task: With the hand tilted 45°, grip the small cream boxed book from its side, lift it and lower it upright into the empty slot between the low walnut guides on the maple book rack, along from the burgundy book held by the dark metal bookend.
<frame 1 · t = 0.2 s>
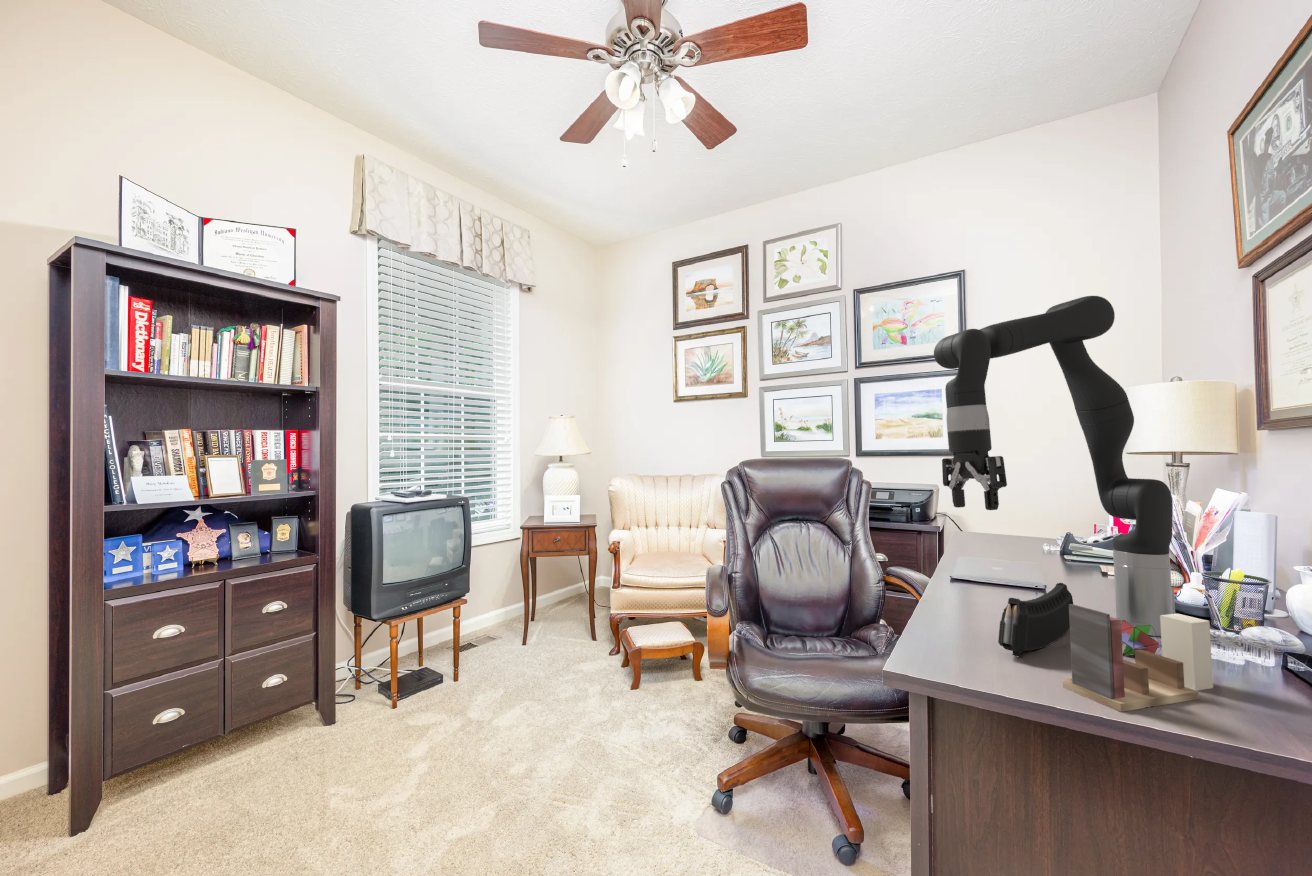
hand: (975, 508, 107), 28 cm above the table, tool pointing down, fingers open, 8 cm apart
magazine: (1040, 644, 109), on the table
book rack: (1128, 692, 86), on the table
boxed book: (1187, 683, 89), on the table
geometric puzzle: (1137, 658, 101), on the table
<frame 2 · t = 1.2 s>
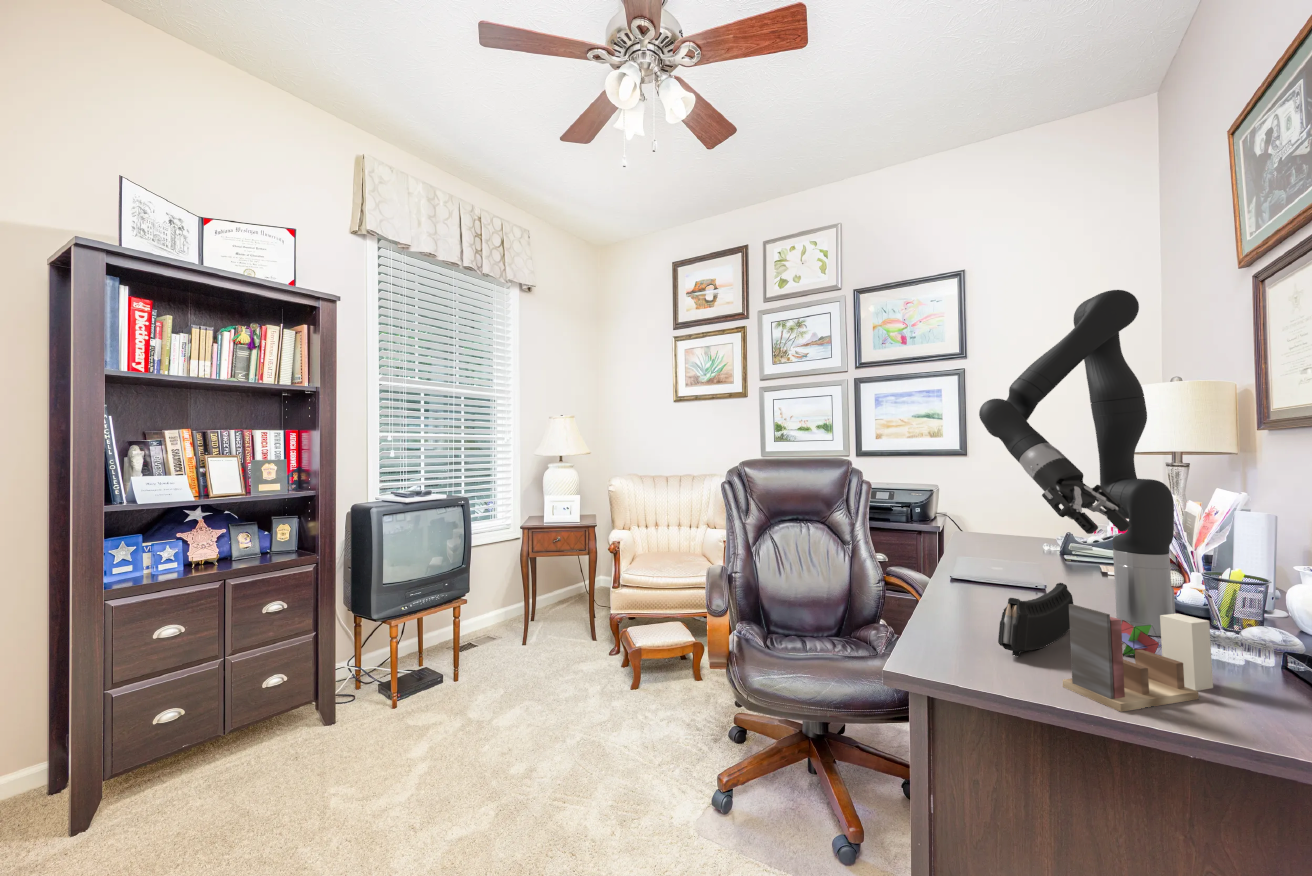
hand: (1110, 530, 101), 24 cm above the table, tool tilted 45°, fingers open, 8 cm apart
nothing on the table moved.
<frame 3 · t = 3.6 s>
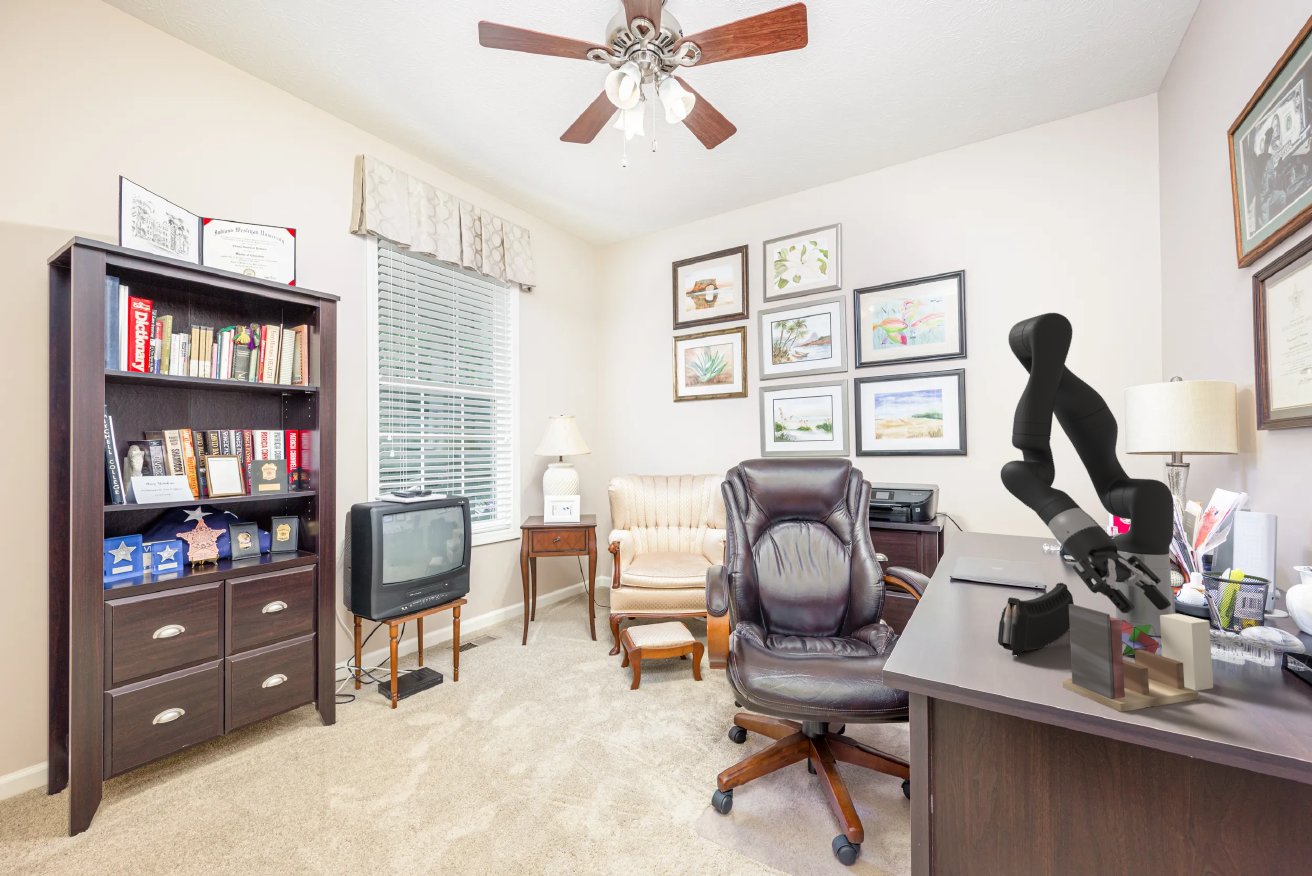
hand: (1148, 609, 95), 11 cm above the table, tool tilted 45°, fingers open, 8 cm apart
nothing on the table moved.
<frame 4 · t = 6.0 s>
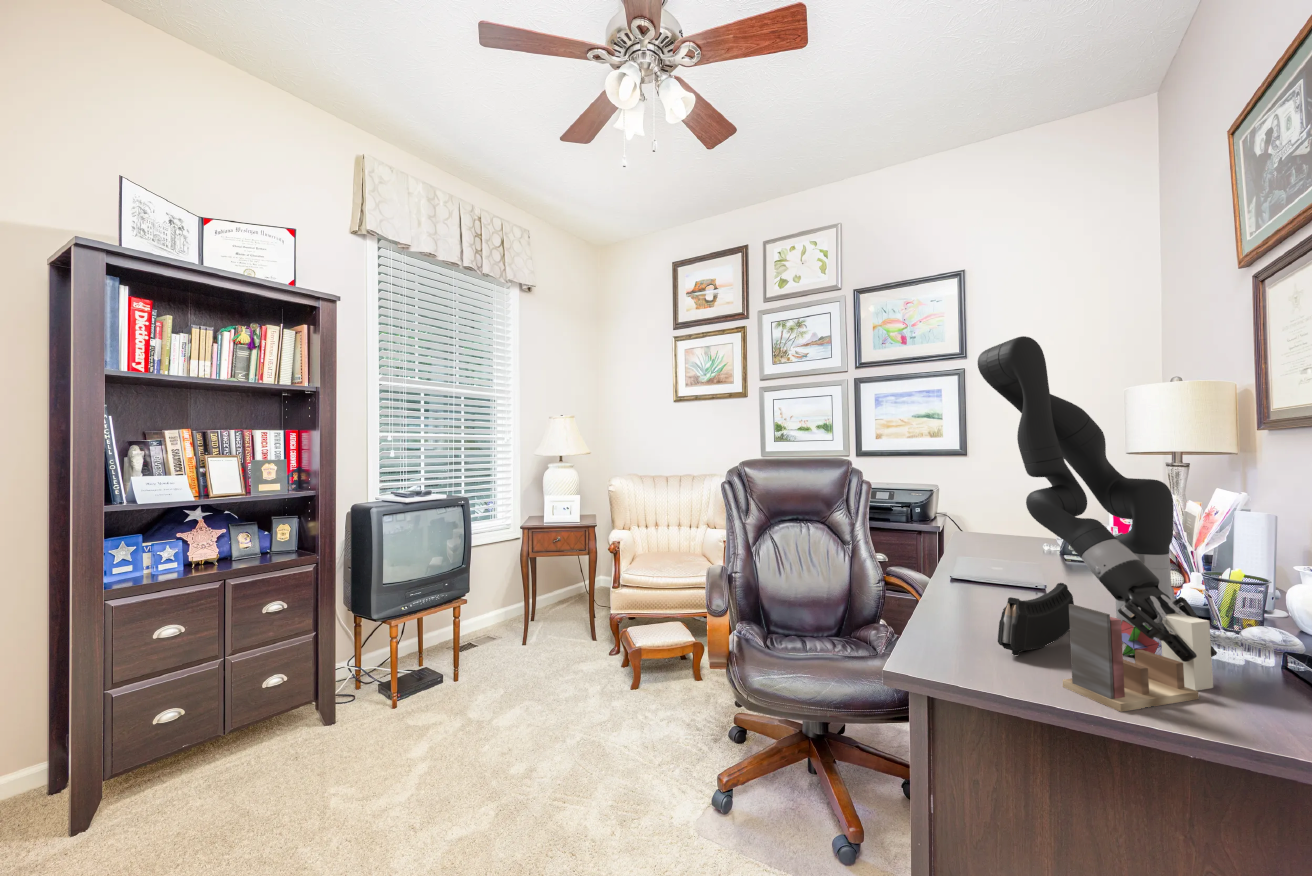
hand: (1200, 657, 87), 5 cm above the table, tool tilted 45°, fingers closed on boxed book, 4 cm apart
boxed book: (1187, 683, 89), on the table, touching gripper
everything else where it was.
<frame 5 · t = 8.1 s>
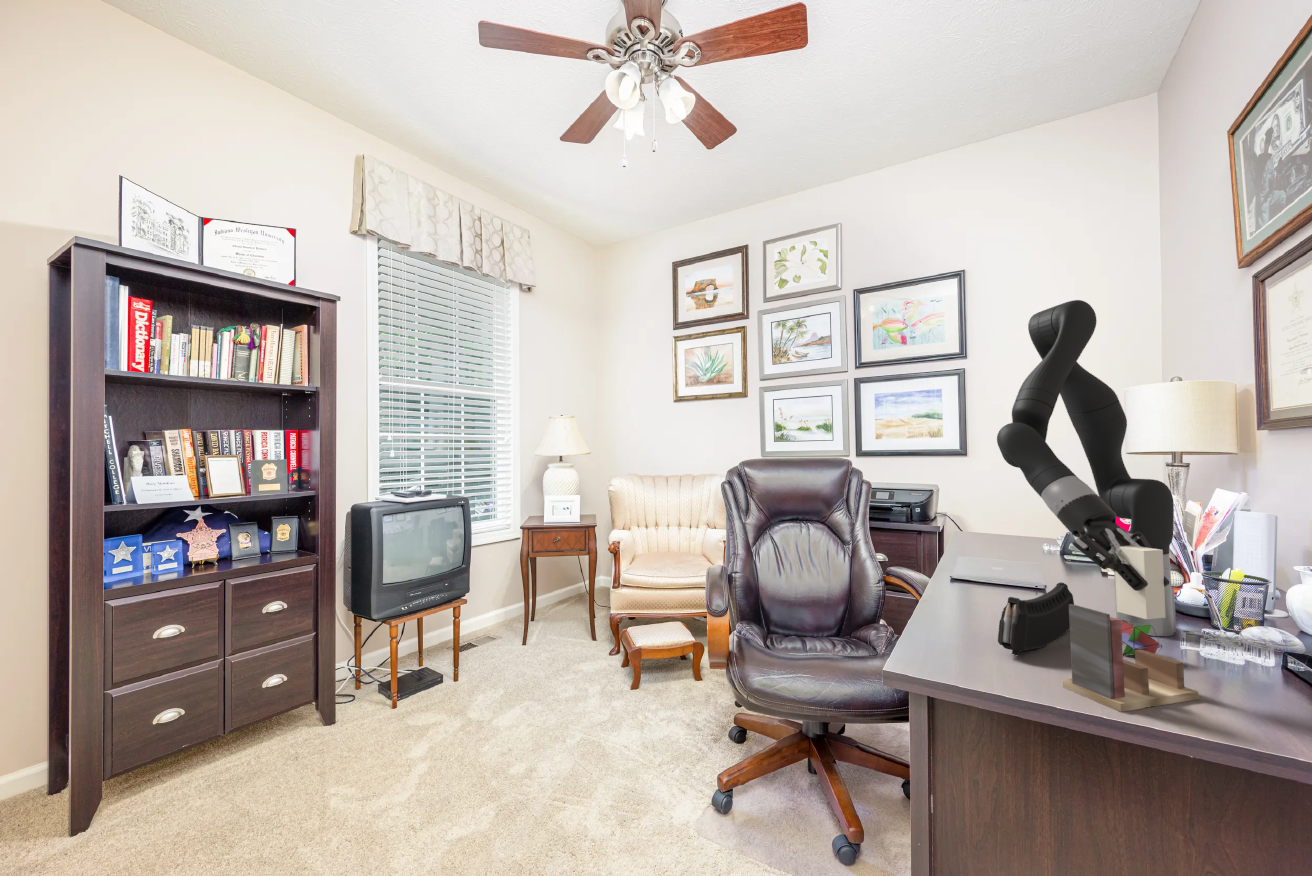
hand: (1152, 586, 86), 17 cm above the table, tool tilted 45°, fingers closed on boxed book, 4 cm apart
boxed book: (1140, 614, 88), point 12 cm above the table, touching gripper
everything else where it was.
when the fingers open (8 cm above the table, at t = 10.4 s): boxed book drops 1 cm, resting on book rack.
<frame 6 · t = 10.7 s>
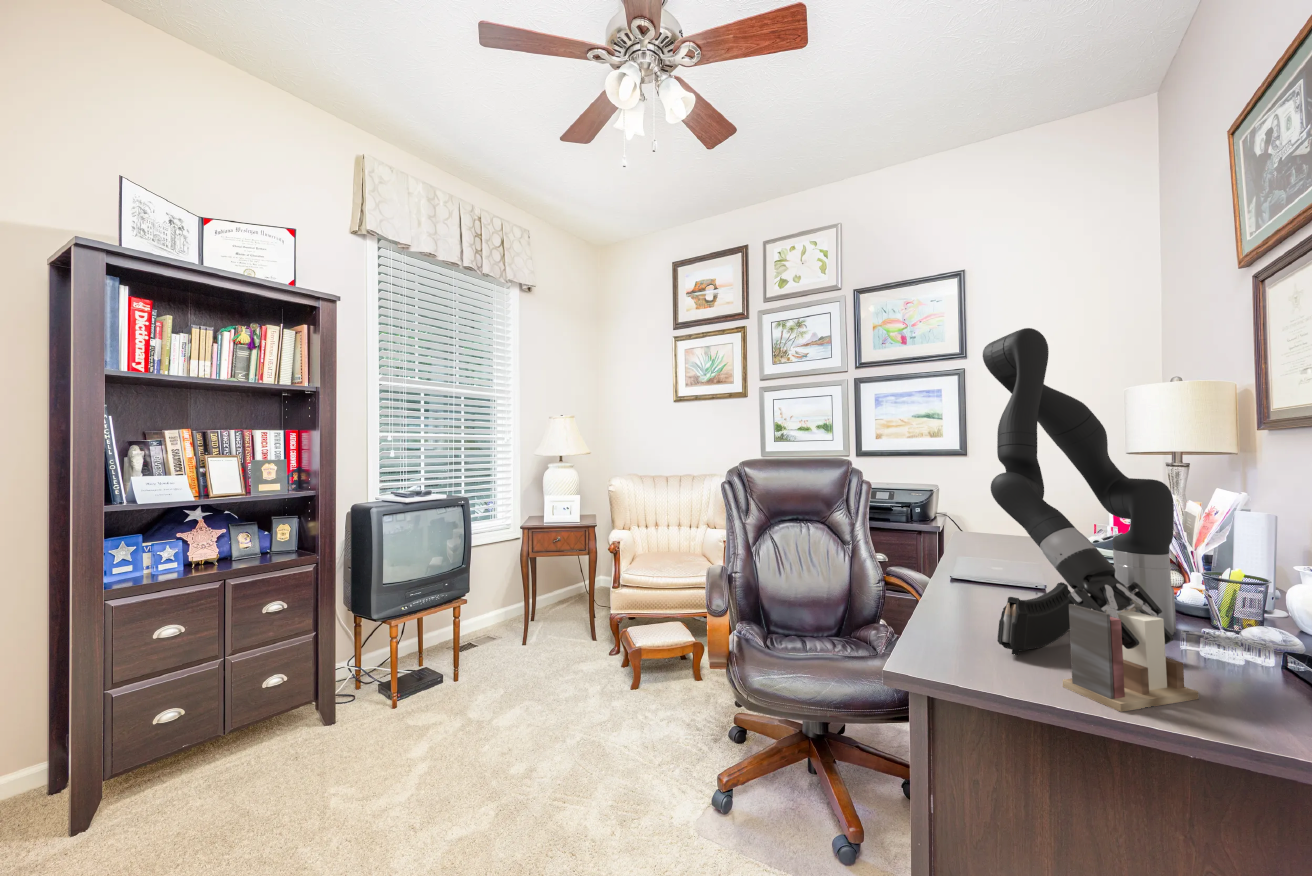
hand: (1151, 644, 86), 8 cm above the table, tool tilted 45°, fingers open, 6 cm apart
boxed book: (1142, 683, 87), point 1 cm above the table, touching book rack
everything else where it was.
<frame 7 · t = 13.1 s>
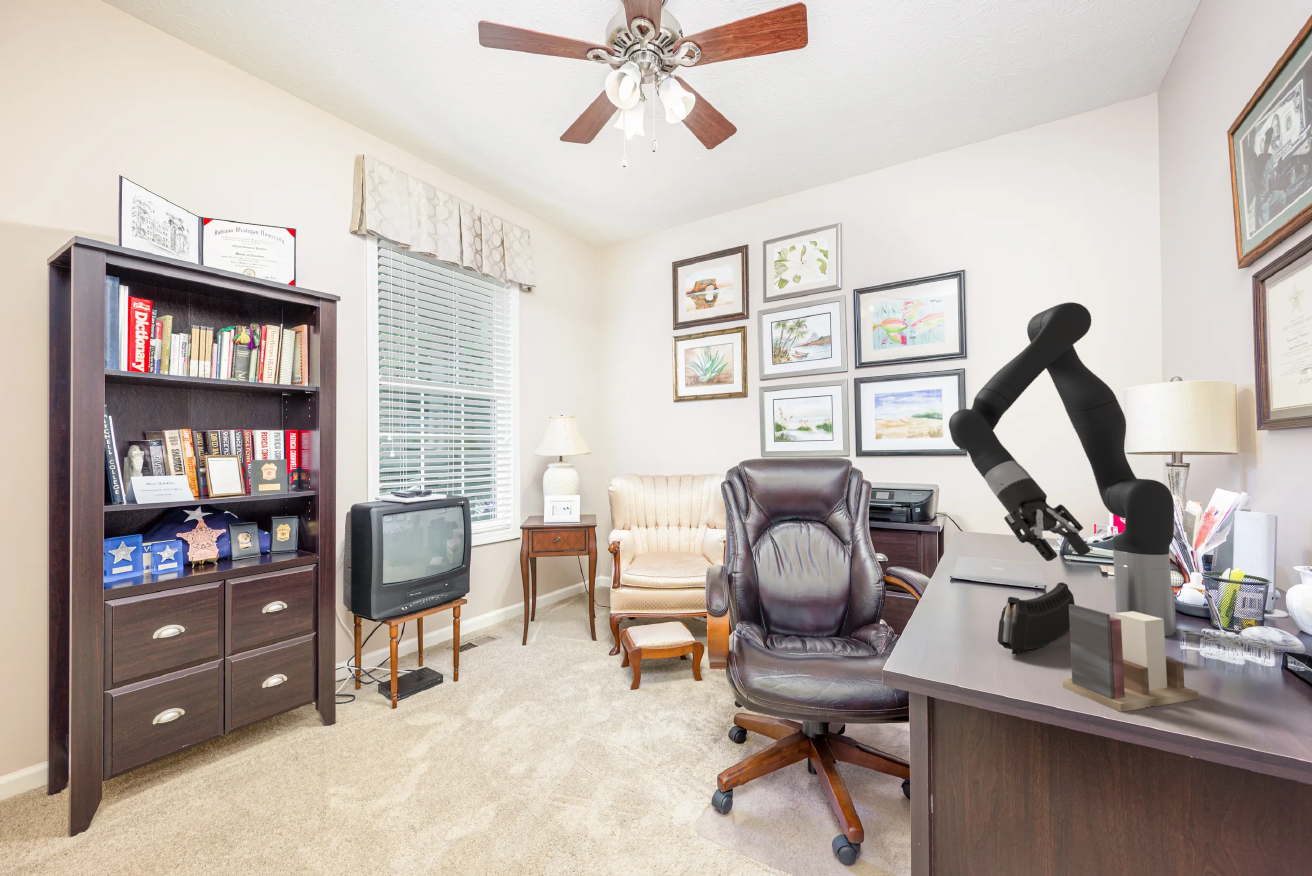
hand: (1069, 556, 100), 20 cm above the table, tool tilted 40°, fingers open, 8 cm apart
nothing on the table moved.
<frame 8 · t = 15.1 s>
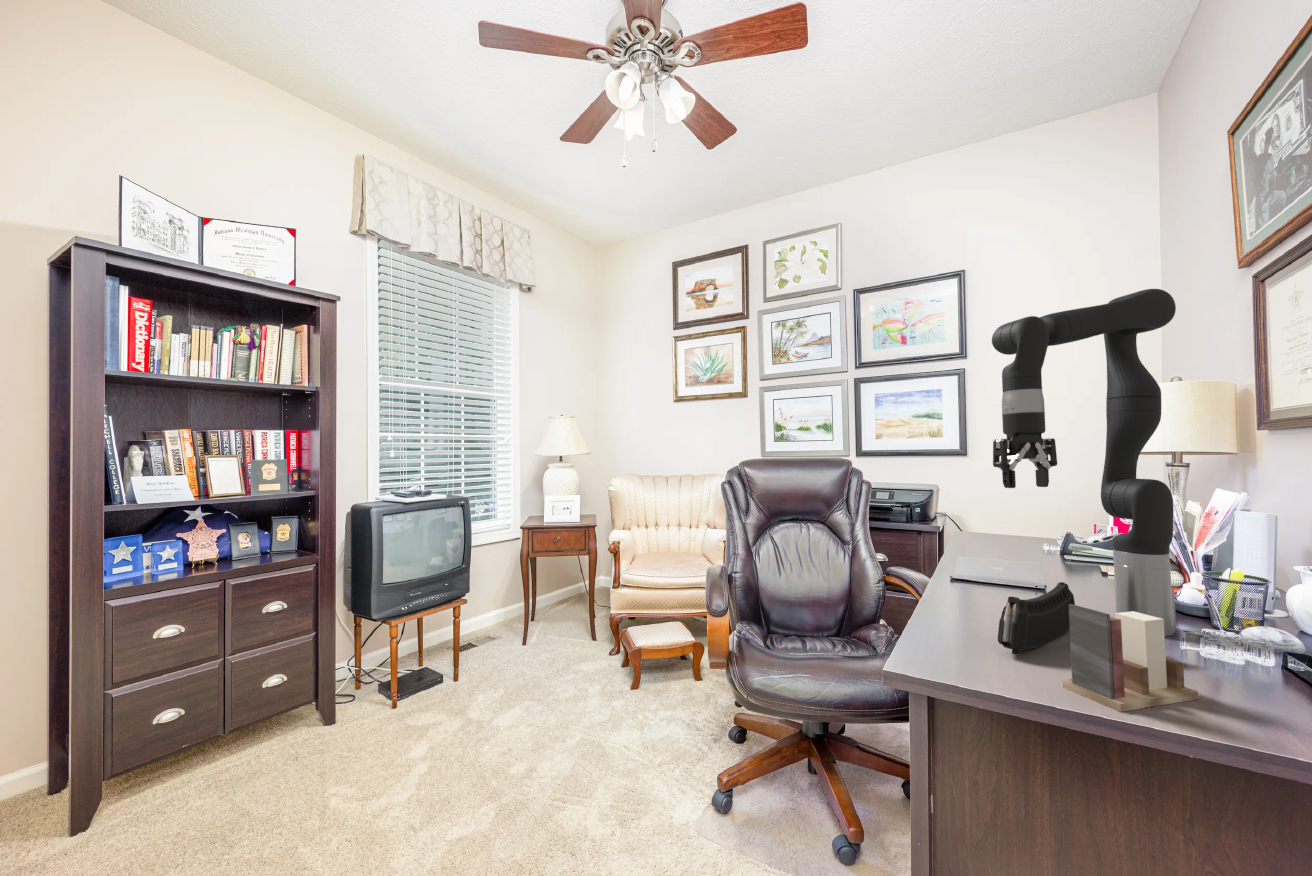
hand: (1026, 487, 112), 32 cm above the table, tool pointing down, fingers open, 8 cm apart
nothing on the table moved.
at the end: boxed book 0.0 cm from the target spot on the book rack, point 1.2 cm above the book rack's base; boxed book tilted 0°; the gripper is holding nothing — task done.
